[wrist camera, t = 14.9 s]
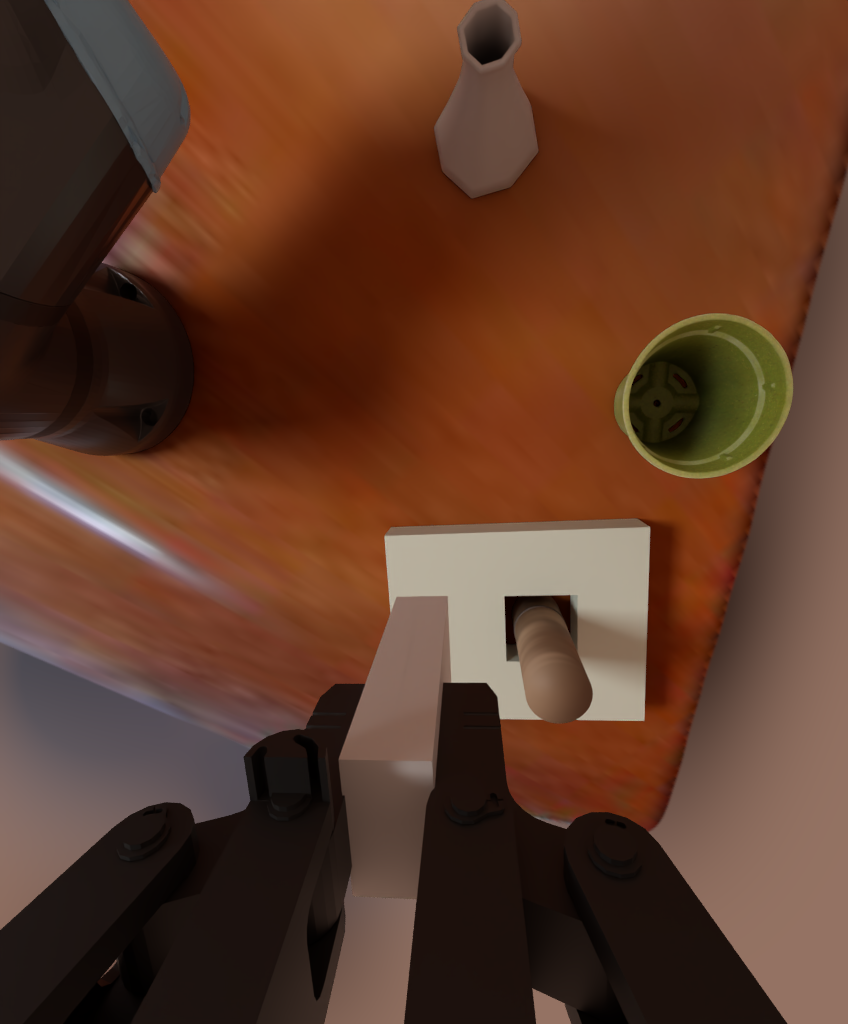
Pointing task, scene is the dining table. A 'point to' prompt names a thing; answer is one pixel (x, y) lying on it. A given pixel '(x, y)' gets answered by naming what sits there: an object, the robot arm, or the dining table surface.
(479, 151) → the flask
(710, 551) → the dining table surface
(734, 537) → the dining table surface
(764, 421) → the plant pot
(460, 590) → the board
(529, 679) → the peg
